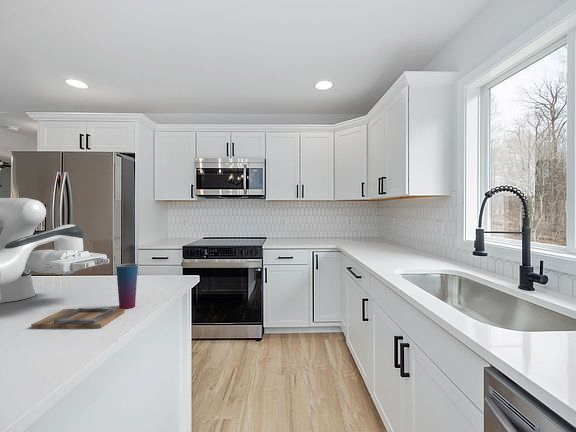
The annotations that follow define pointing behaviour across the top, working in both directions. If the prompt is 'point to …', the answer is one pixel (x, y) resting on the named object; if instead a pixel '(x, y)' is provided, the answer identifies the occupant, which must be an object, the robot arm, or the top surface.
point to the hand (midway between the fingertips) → (97, 263)
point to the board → (79, 318)
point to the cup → (127, 285)
